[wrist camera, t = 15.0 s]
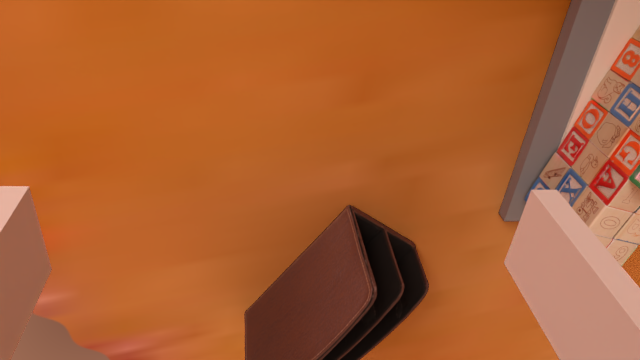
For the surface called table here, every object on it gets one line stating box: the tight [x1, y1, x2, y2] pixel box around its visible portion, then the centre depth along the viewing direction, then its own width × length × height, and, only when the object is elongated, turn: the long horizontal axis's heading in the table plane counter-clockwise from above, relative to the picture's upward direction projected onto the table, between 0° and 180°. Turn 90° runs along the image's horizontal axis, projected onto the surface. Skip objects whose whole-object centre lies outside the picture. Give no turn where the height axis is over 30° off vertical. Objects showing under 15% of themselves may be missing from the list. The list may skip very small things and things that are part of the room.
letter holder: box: [245, 205, 429, 360], centre depth 55 cm, size 10×20×14 cm, turn 141°
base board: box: [499, 0, 640, 221], centre depth 51 cm, size 27×13×2 cm, turn 175°
